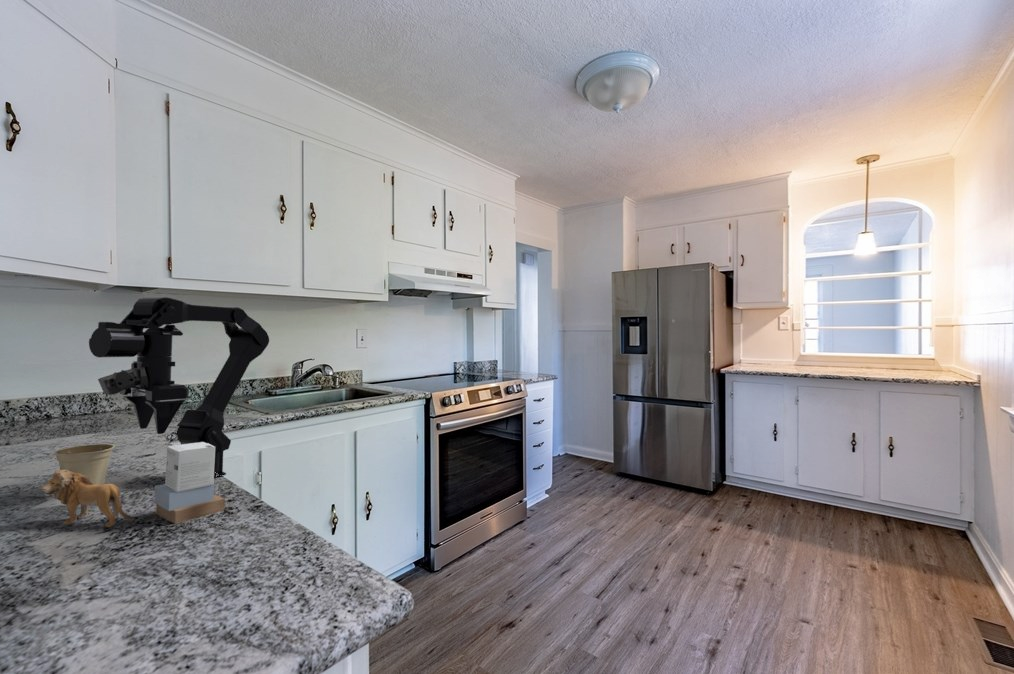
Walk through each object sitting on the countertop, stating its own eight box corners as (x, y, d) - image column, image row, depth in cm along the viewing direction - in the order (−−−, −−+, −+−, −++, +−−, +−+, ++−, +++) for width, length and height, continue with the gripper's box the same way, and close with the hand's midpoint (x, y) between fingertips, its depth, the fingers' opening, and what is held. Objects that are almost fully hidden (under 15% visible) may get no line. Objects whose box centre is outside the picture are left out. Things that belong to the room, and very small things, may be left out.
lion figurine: (33, 527, 74) (35, 474, 75) (64, 515, 80) (66, 465, 80) (121, 528, 75) (123, 475, 75) (146, 516, 80) (148, 466, 80)
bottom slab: (204, 505, 88) (204, 490, 88) (224, 514, 84) (224, 498, 84) (156, 518, 81) (156, 502, 81) (175, 528, 77) (175, 511, 77)
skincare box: (164, 486, 81) (165, 446, 81) (202, 478, 86) (203, 440, 86) (176, 493, 78) (177, 451, 78) (214, 484, 82) (216, 445, 83)
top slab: (197, 492, 87) (198, 477, 87) (213, 500, 83) (214, 484, 83) (154, 502, 81) (155, 486, 81) (168, 511, 77) (169, 493, 77)
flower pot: (83, 497, 89) (85, 454, 89) (38, 496, 89) (40, 453, 89) (125, 483, 98) (126, 444, 98) (83, 482, 98) (85, 443, 99)
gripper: (89, 355, 91) (86, 431, 90) (121, 358, 81) (118, 443, 80) (154, 355, 100) (152, 424, 100) (191, 357, 90) (188, 434, 89)
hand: (151, 431), depth 92 cm, fingers open, 9 cm apart
